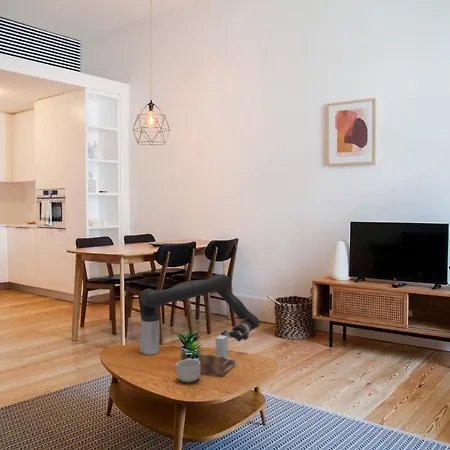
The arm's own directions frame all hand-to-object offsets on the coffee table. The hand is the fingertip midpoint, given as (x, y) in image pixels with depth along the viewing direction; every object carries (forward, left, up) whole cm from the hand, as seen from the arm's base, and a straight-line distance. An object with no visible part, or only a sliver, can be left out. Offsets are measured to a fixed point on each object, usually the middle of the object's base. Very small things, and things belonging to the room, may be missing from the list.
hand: (230, 338), depth 254 cm
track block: (+3, -24, -8) cm, 26 cm away
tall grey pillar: (0, -11, -8) cm, 14 cm away
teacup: (-4, -40, -8) cm, 42 cm away
